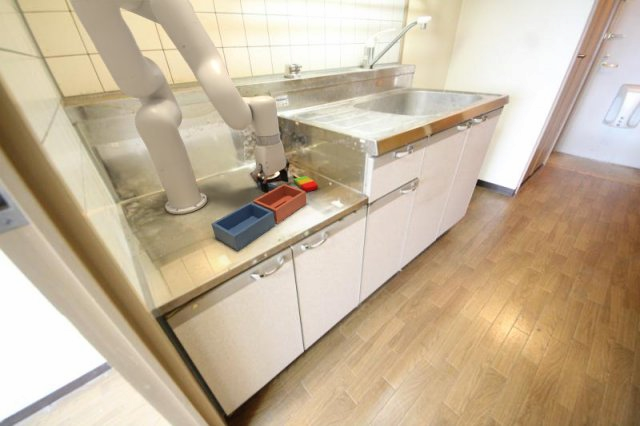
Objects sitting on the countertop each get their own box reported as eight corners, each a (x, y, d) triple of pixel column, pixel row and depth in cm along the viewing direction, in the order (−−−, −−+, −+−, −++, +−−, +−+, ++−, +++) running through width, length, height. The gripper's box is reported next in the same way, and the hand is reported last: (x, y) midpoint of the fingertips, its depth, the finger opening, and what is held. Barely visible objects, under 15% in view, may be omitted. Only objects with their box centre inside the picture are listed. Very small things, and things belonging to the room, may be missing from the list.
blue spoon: (257, 187, 94) (256, 182, 93) (263, 184, 96) (262, 179, 95) (276, 195, 89) (276, 189, 88) (282, 191, 91) (282, 186, 90)
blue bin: (215, 237, 70) (210, 223, 67) (253, 214, 79) (250, 201, 76) (237, 251, 65) (234, 236, 62) (275, 225, 74) (273, 211, 71)
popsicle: (305, 192, 90) (305, 188, 89) (287, 177, 101) (287, 173, 100) (319, 188, 92) (318, 184, 91) (300, 174, 103) (299, 170, 102)
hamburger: (278, 168, 109) (277, 155, 106) (287, 179, 100) (286, 166, 97) (250, 173, 105) (248, 161, 102) (257, 185, 95) (255, 172, 92)
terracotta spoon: (288, 199, 85) (288, 193, 84) (295, 202, 84) (295, 196, 83) (267, 212, 79) (266, 206, 77) (274, 216, 77) (273, 209, 76)
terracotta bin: (255, 213, 79) (252, 200, 77) (285, 195, 88) (283, 183, 86) (277, 223, 75) (275, 210, 72) (306, 204, 84) (305, 191, 81)
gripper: (278, 130, 88) (284, 175, 98) (239, 144, 77) (249, 193, 86) (295, 133, 85) (299, 180, 94) (255, 149, 73) (264, 200, 83)
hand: (275, 186), depth 90 cm, fingers open, 9 cm apart
